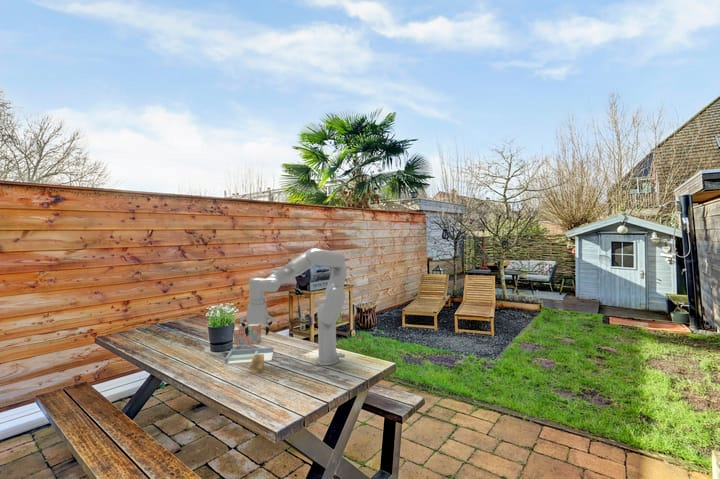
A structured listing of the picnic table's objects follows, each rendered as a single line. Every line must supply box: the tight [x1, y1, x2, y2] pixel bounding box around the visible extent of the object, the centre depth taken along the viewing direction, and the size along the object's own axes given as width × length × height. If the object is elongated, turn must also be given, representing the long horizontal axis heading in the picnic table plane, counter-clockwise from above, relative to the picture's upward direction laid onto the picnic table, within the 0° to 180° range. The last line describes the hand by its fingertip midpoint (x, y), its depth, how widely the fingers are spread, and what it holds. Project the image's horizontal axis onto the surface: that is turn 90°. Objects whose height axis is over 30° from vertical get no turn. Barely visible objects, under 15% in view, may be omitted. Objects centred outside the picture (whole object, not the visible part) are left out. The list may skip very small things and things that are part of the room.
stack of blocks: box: [233, 322, 262, 345], centre depth 219 cm, size 21×6×12 cm, turn 84°
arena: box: [224, 346, 274, 365], centre depth 190 cm, size 24×14×3 cm, turn 100°
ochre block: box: [251, 354, 265, 374], centre depth 174 cm, size 5×10×6 cm, turn 10°
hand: (257, 334), depth 174 cm, fingers open, 9 cm apart
